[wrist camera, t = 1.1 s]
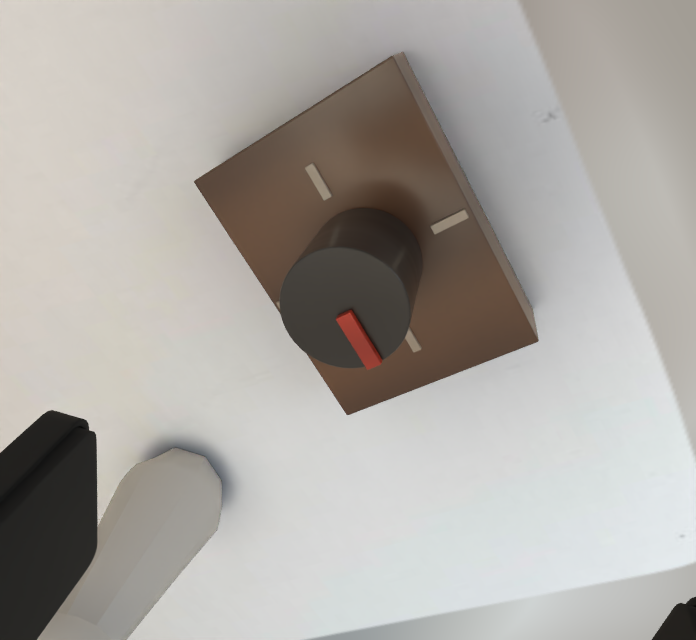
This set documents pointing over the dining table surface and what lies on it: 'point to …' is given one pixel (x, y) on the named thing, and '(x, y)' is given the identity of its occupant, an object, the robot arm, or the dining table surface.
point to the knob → (353, 289)
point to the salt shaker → (141, 546)
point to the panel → (391, 197)
